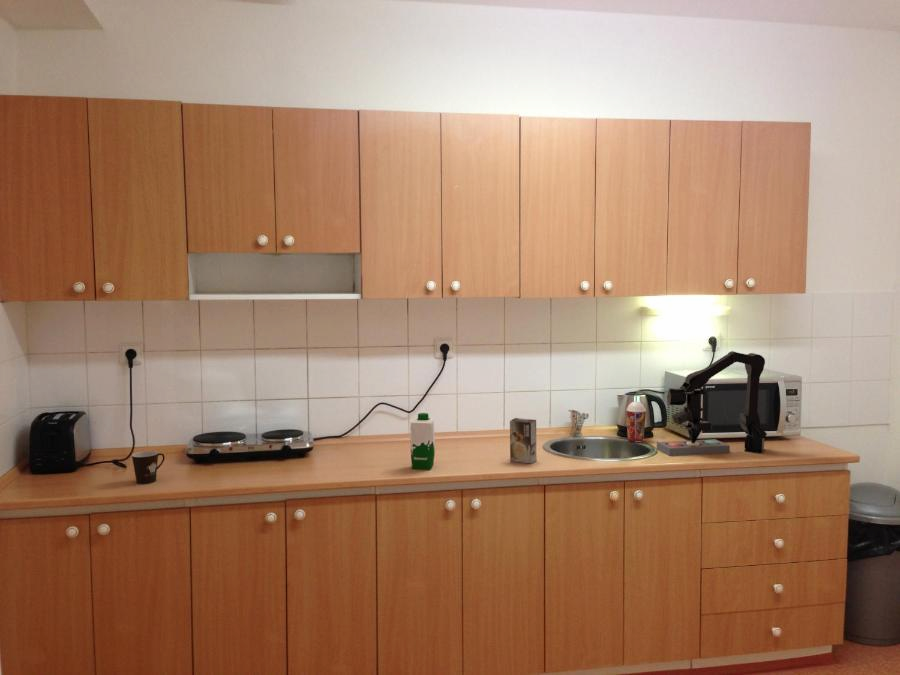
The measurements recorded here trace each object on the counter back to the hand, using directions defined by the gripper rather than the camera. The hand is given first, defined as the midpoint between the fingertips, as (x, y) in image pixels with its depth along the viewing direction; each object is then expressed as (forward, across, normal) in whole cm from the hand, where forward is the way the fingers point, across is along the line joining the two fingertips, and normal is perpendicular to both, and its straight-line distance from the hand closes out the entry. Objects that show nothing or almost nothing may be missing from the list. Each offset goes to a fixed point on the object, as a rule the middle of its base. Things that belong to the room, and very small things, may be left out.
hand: (693, 442), depth 287 cm
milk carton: (+3, +3, -111) cm, 112 cm away
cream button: (+2, 0, 0) cm, 2 cm away
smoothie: (+4, -21, -15) cm, 26 cm away
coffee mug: (+3, +2, -209) cm, 209 cm away
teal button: (+2, 0, +8) cm, 8 cm away
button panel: (+3, 0, 0) cm, 3 cm away
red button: (+2, 0, -8) cm, 8 cm away
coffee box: (+4, +1, -72) cm, 72 cm away
